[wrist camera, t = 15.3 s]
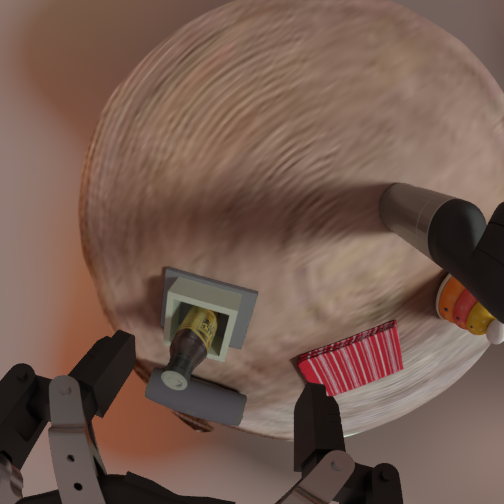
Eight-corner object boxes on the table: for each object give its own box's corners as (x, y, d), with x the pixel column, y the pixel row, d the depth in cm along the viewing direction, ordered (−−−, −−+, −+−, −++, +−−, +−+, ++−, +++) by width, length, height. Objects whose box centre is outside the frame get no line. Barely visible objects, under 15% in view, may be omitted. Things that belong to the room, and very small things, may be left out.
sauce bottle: (223, 325, 53) (201, 400, 34) (193, 325, 54) (162, 396, 35) (218, 297, 51) (190, 369, 32) (187, 298, 52) (148, 365, 33)
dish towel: (294, 354, 56) (294, 362, 54) (394, 316, 51) (399, 322, 49) (315, 397, 61) (316, 405, 59) (402, 365, 56) (405, 372, 54)
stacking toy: (425, 286, 48) (473, 339, 30) (470, 249, 44) (526, 286, 26) (440, 327, 51) (478, 379, 33) (480, 293, 47) (525, 335, 29)
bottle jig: (258, 291, 51) (255, 311, 44) (241, 346, 56) (237, 368, 49) (168, 266, 51) (153, 282, 44) (162, 323, 56) (149, 342, 49)
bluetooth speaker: (157, 379, 63) (144, 406, 53) (159, 356, 60) (144, 384, 50) (239, 405, 63) (234, 434, 54) (249, 384, 60) (244, 415, 51)
